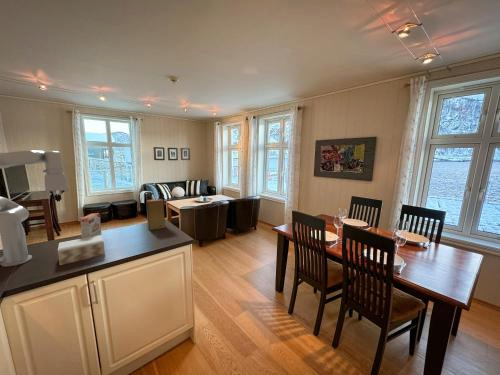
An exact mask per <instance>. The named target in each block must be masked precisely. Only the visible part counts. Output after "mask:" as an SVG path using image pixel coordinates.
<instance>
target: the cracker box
mask: <svg viewBox="0 0 500 375" xmlns="http://www.w3.org/2000/svg"><path fill="white" fill-rule="evenodd" d="M79 220H80V233H81V239H82V238H88V237H93V236H98V235H102V226H101V213H99V212H97V213H96V212H95V213H93V212H92V213H89V214H87V215H86V216H83V217H81V218H79Z"/></svg>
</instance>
